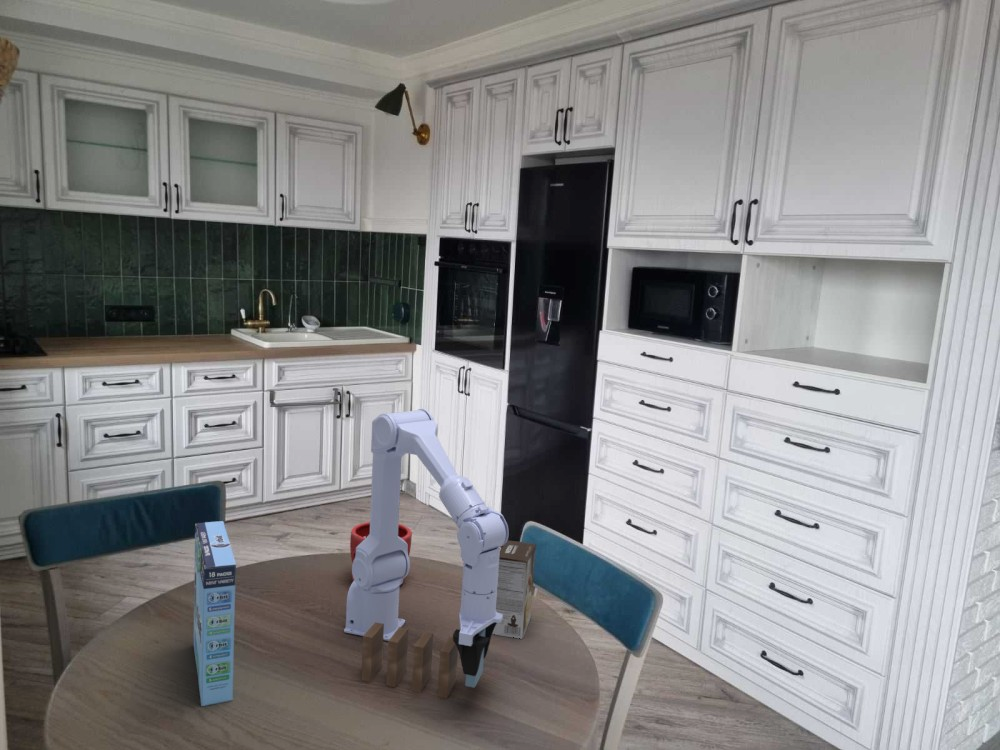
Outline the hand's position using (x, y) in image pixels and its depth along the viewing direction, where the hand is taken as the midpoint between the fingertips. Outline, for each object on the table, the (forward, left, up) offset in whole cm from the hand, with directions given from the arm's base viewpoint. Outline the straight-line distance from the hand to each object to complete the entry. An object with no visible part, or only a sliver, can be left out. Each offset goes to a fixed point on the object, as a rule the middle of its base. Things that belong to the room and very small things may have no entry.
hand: (474, 665), depth 118 cm
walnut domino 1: (-18, 0, -5) cm, 19 cm away
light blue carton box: (-43, -8, -6) cm, 44 cm away
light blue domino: (0, 0, -2) cm, 2 cm away
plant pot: (-31, +34, -6) cm, 46 cm away
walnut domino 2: (-14, 0, -5) cm, 14 cm away
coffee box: (+1, +25, -5) cm, 25 cm away
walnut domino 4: (-5, 0, -5) cm, 7 cm away
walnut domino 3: (-9, 0, -5) cm, 10 cm away
